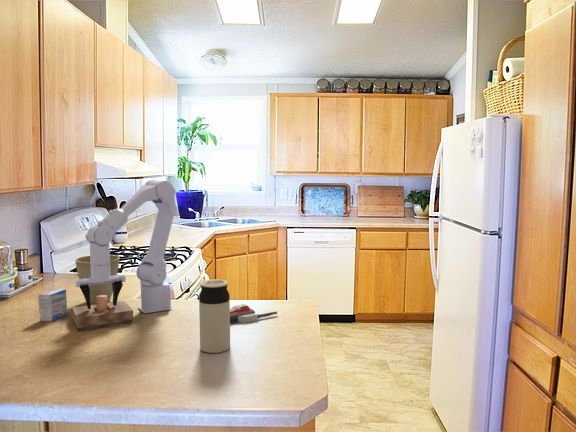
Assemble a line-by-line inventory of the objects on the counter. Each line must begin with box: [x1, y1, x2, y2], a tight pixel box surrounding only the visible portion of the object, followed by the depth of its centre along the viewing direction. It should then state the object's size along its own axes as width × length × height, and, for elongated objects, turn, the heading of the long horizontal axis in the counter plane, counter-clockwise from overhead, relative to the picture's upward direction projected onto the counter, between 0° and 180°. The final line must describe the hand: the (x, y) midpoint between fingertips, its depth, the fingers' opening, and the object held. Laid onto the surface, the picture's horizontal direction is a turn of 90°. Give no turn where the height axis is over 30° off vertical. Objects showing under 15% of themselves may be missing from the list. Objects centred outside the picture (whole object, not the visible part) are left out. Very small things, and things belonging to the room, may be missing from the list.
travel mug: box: [198, 278, 231, 354], centre depth 130 cm, size 8×8×18 cm
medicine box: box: [38, 288, 68, 323], centre depth 157 cm, size 8×4×9 cm, turn 168°
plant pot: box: [74, 254, 120, 305], centre depth 176 cm, size 15×15×16 cm
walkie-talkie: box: [230, 303, 278, 324], centre depth 157 cm, size 9×4×20 cm
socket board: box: [71, 300, 134, 332], centre depth 154 cm, size 16×13×4 cm
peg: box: [96, 295, 108, 312], centre depth 154 cm, size 3×3×7 cm
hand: (102, 306), depth 154 cm, fingers open, 7 cm apart
